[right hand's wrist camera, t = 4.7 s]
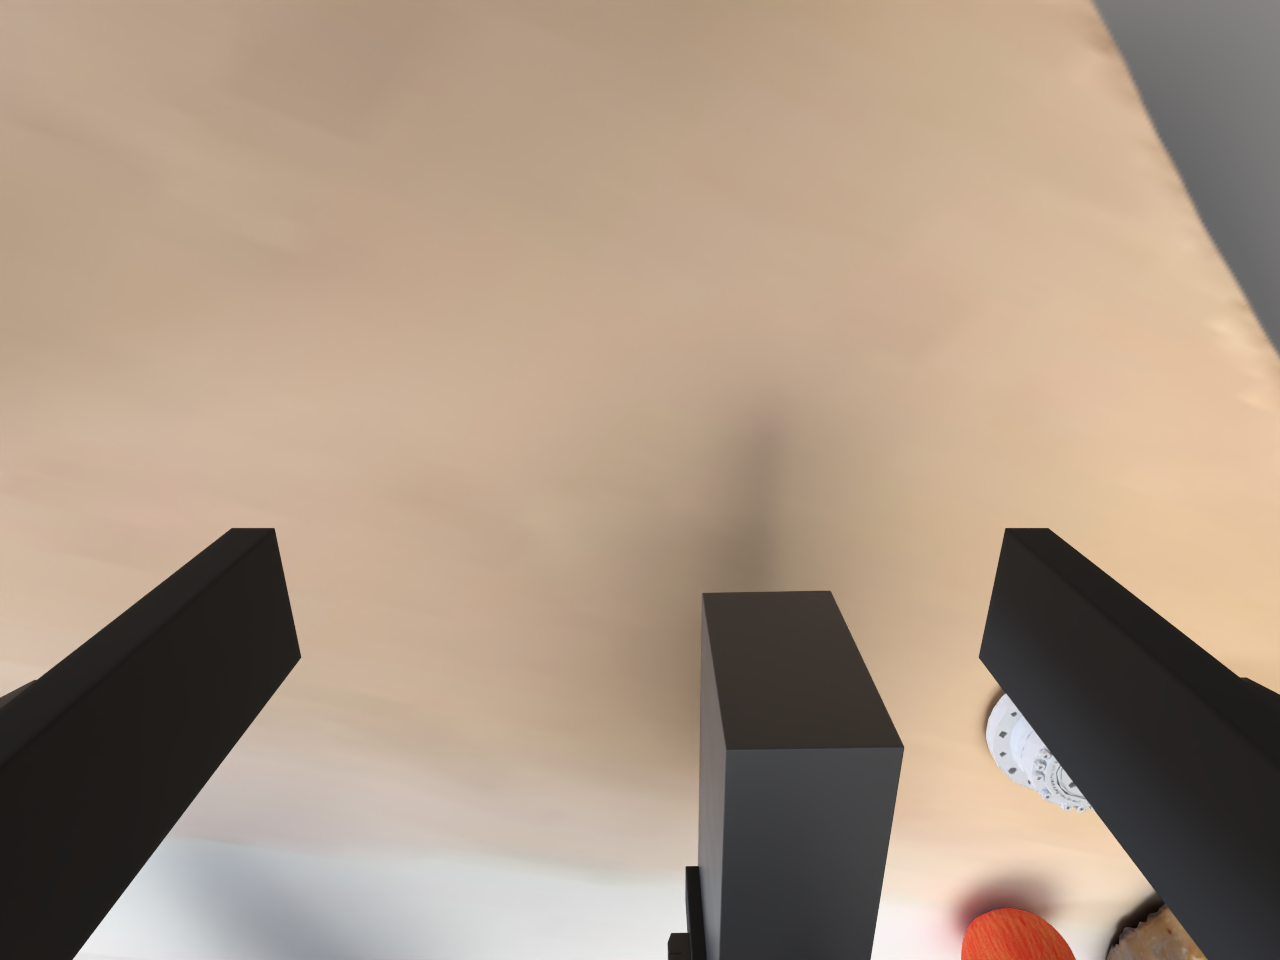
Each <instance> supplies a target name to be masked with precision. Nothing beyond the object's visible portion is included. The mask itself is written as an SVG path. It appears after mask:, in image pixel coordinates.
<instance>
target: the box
mask: <svg viewBox="0 0 1280 960" xmlns="http://www.w3.org/2000/svg"><path fill="white" fill-rule="evenodd" d="M903 752H904V746H903V743H902V741H901V739H900V737H899V735H898V733H897V731H896V729H895V727H894V724H893V722H892V720H891V718H890V716H889V714H888V712H887V710H886V707H885V705H884V703H883V701H882V699H881V697H880V695H879V693H878V690H877V688H876V686H875V684H874V682H873V680H872V678H871V676H870V674H869V671H868V669H867V667H866V665H865V663H864V661H863V659H862V657H861V654H860V652H859V650H858V648H857V646H856V644H855V642H854V640H853V637H852V635H851V633H850V631H849V629H848V627H847V625H846V623H845V621H844V618H843V616H842V614H841V612H840V610H839V608H838V606H837V604H836V601H835V599H834V597H833V595H832V593H831V591H790V592H733V593H702V637H701V705H700V773H699V840H698V866H699V875H700V886H701V898H702V910H703V921H704V933H705V945H706V957H707V960H870V959H871V953H872V947H873V940H874V934H875V928H876V921H877V915H878V909H879V903H880V896H881V890H882V884H883V877H884V871H885V865H886V859H887V852H888V846H889V840H890V833H891V827H892V821H893V815H894V808H895V802H896V796H897V789H898V783H899V777H900V771H901V764H902V758H903Z"/></svg>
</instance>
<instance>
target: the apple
mask: <svg viewBox="0 0 1280 960" xmlns="http://www.w3.org/2000/svg"><path fill="white" fill-rule="evenodd" d="M961 960H1076V959H1075V957H1074V955H1073V953H1072V951H1071V949H1070V947H1069V945H1068V944H1067V943H1066V941H1065V940H1064V939H1063V937H1062V936H1061V935H1060V934H1059V933H1058V932H1057V931H1056V930H1055V929H1054V928H1053V927H1052V926H1051V925H1050V924H1049V923H1047V922H1046V921H1045V920H1043V919H1042V918H1040V917H1039V916H1037V915H1035V914H1033V913H1030V912H1027V911H1024V910H1020V909H1015V908H1002V909H996V910H992V911H989V912H987V913H985V914H983V915H980V916H978V917H976V918H975V919H974V920H973V921H972V922H971V923H970V925H969V927H968V928H967V930H966V933H965V936H964V939H963V944H962V953H961Z"/></svg>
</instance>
